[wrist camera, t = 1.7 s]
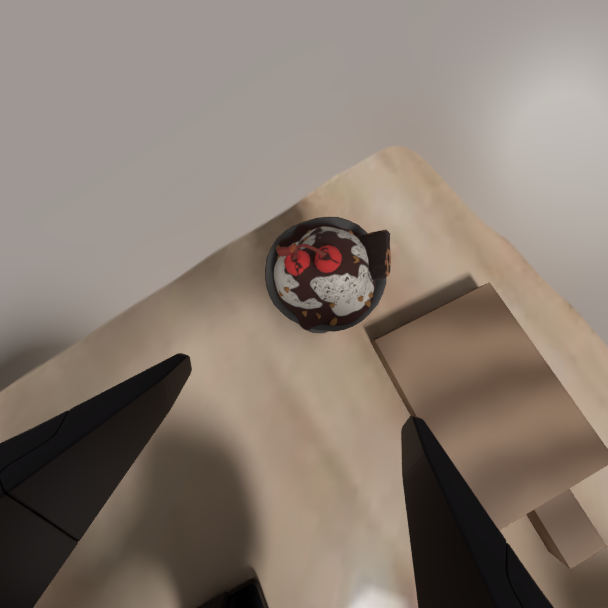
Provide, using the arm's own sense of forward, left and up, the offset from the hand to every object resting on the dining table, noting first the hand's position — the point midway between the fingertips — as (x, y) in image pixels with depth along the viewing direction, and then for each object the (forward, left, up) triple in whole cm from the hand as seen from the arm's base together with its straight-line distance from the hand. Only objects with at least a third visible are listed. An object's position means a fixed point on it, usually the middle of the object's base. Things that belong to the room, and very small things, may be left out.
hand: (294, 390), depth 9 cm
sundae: (+5, -4, -12) cm, 14 cm away
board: (-10, -13, -12) cm, 21 cm away
